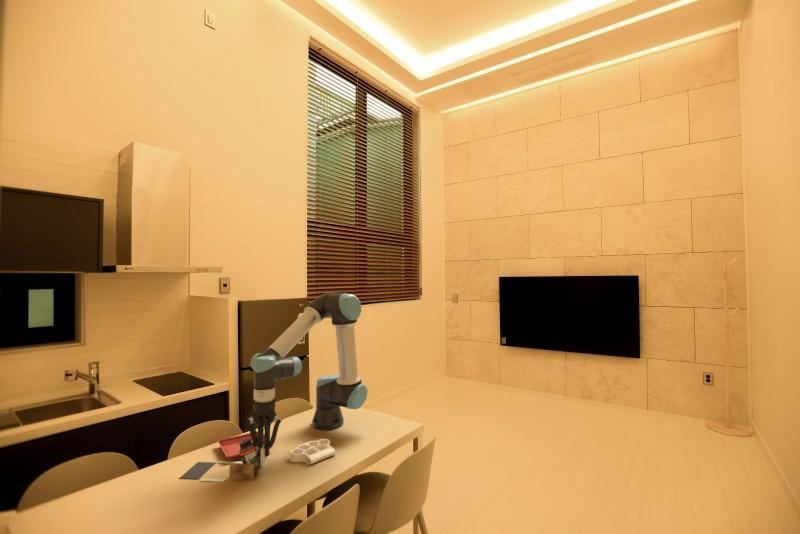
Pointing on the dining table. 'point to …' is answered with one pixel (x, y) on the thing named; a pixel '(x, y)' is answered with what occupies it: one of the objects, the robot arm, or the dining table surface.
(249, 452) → the supplement bottle
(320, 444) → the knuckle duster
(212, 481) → the strips
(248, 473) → the tunnel
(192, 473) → the mat
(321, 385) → the robot arm
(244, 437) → the plant saucer
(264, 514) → the dining table surface
